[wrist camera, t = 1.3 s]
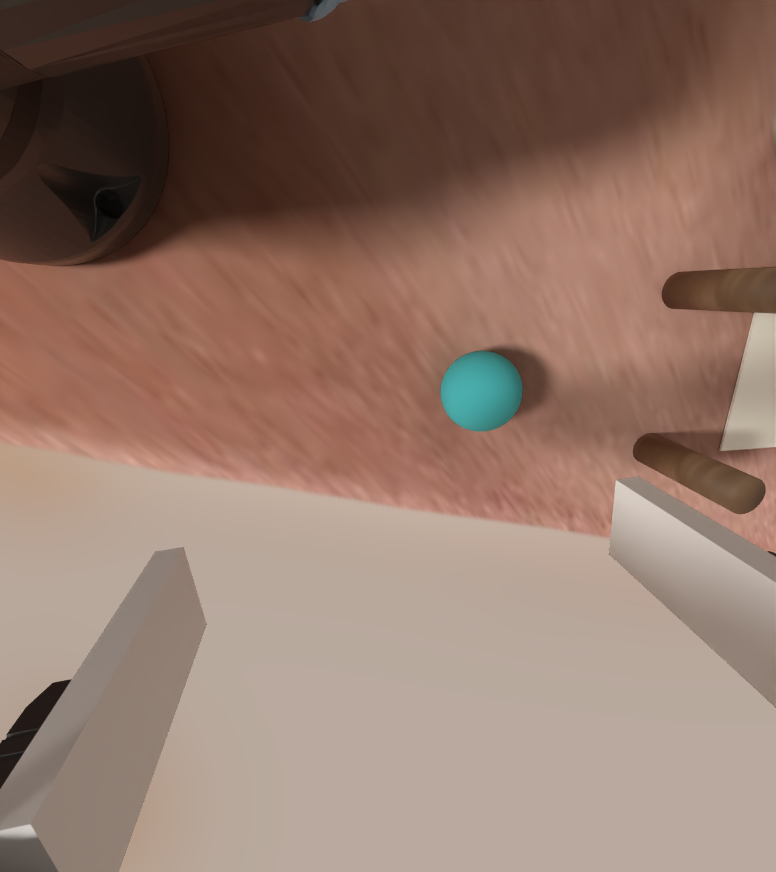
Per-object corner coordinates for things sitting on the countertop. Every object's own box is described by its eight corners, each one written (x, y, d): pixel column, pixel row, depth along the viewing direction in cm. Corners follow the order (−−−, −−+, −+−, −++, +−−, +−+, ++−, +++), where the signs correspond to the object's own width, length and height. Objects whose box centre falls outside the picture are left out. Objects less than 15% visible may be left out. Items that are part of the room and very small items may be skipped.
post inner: (665, 272, 31) (792, 264, 23) (697, 271, 31) (834, 264, 23) (659, 309, 32) (778, 315, 24) (689, 308, 32) (819, 314, 24)
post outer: (636, 434, 35) (734, 479, 27) (664, 432, 36) (770, 476, 27) (630, 463, 36) (724, 515, 28) (658, 461, 36) (759, 512, 28)
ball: (432, 347, 30) (455, 358, 25) (505, 344, 31) (541, 355, 26) (431, 420, 32) (452, 445, 27) (500, 416, 33) (533, 439, 28)
